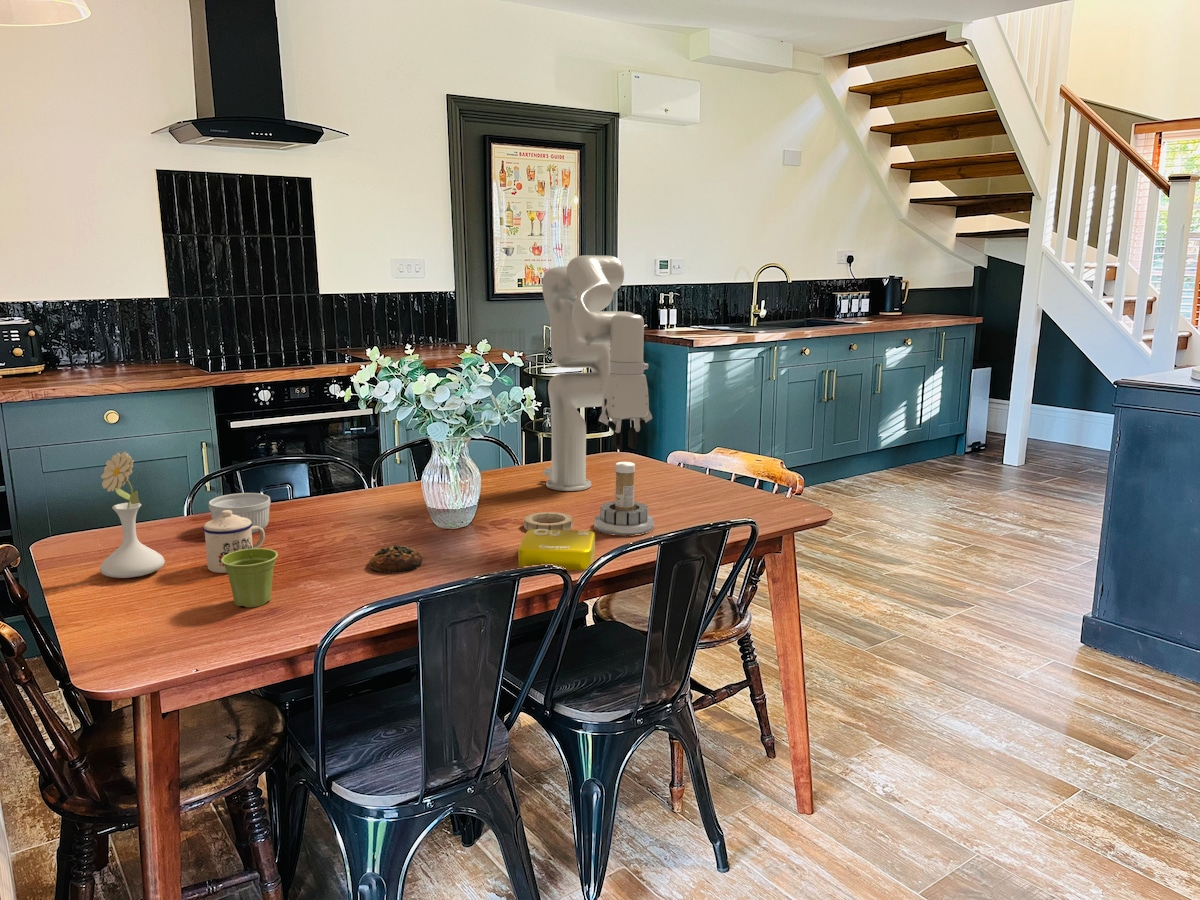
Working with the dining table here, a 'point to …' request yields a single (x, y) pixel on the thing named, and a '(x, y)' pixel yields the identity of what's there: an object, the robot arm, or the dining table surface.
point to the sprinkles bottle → (624, 486)
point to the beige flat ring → (533, 521)
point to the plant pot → (250, 575)
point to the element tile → (557, 548)
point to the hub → (623, 520)
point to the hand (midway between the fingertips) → (625, 447)
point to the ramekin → (243, 507)
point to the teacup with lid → (228, 538)
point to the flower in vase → (127, 526)
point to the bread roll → (396, 559)
